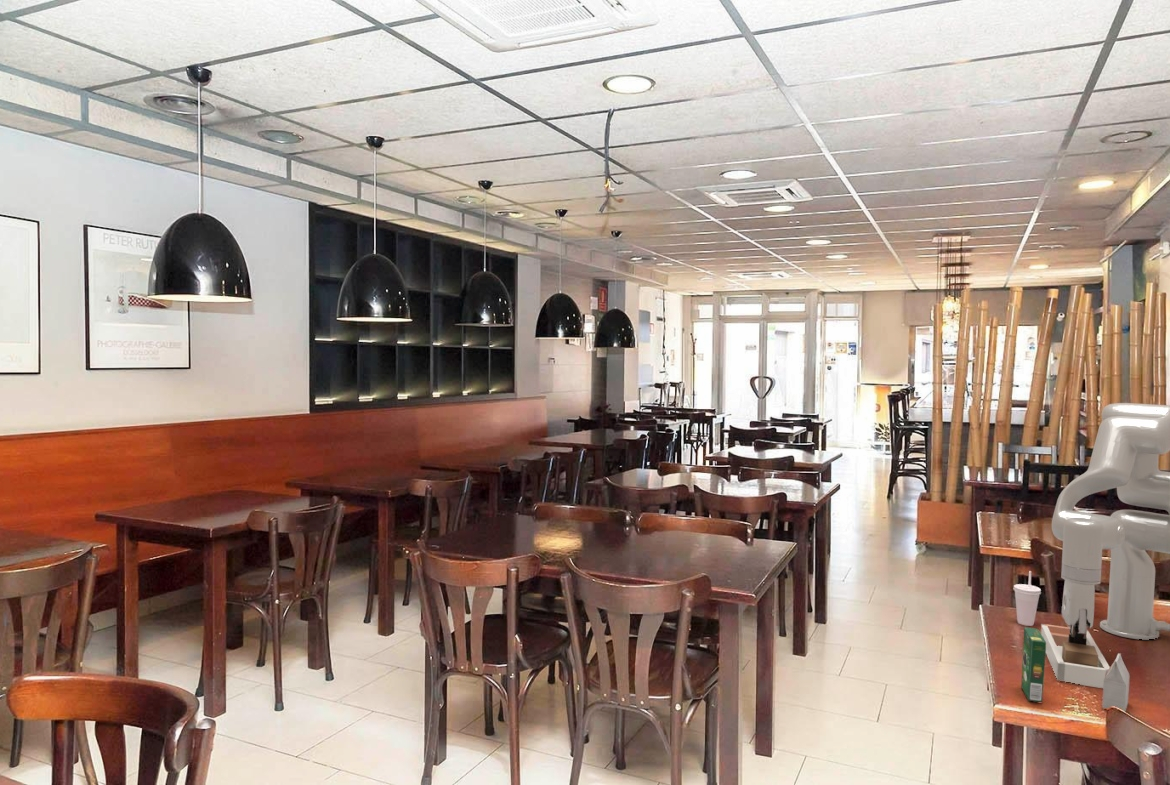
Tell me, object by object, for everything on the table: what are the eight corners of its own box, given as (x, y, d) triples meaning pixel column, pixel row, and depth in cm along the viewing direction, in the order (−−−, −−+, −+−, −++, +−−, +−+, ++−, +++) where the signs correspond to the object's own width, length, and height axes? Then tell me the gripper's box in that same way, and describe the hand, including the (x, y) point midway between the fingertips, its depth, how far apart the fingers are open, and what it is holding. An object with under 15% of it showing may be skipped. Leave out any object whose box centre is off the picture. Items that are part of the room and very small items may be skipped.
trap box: (1086, 646, 193) (1087, 629, 192) (1111, 689, 167) (1112, 671, 167) (1040, 639, 196) (1041, 623, 196) (1057, 681, 171) (1058, 663, 171)
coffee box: (1043, 704, 159) (1047, 641, 158) (1027, 702, 160) (1031, 639, 159) (1035, 689, 166) (1039, 628, 166) (1020, 686, 167) (1023, 626, 167)
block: (1093, 664, 174) (1094, 646, 174) (1097, 673, 169) (1098, 655, 169) (1061, 658, 177) (1062, 641, 177) (1064, 668, 172) (1065, 650, 171)
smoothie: (1044, 628, 205) (1047, 575, 204) (1019, 627, 205) (1022, 574, 204) (1031, 619, 211) (1033, 568, 211) (1007, 619, 212) (1009, 567, 211)
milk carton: (1128, 703, 160) (1130, 655, 160) (1124, 714, 155) (1127, 664, 155) (1106, 698, 163) (1109, 650, 162) (1102, 709, 158) (1104, 660, 157)
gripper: (1056, 563, 185) (1052, 640, 186) (1066, 579, 171) (1062, 662, 172) (1094, 567, 182) (1090, 645, 183) (1107, 584, 168) (1102, 668, 169)
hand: (1076, 653), depth 178 cm, fingers closed
